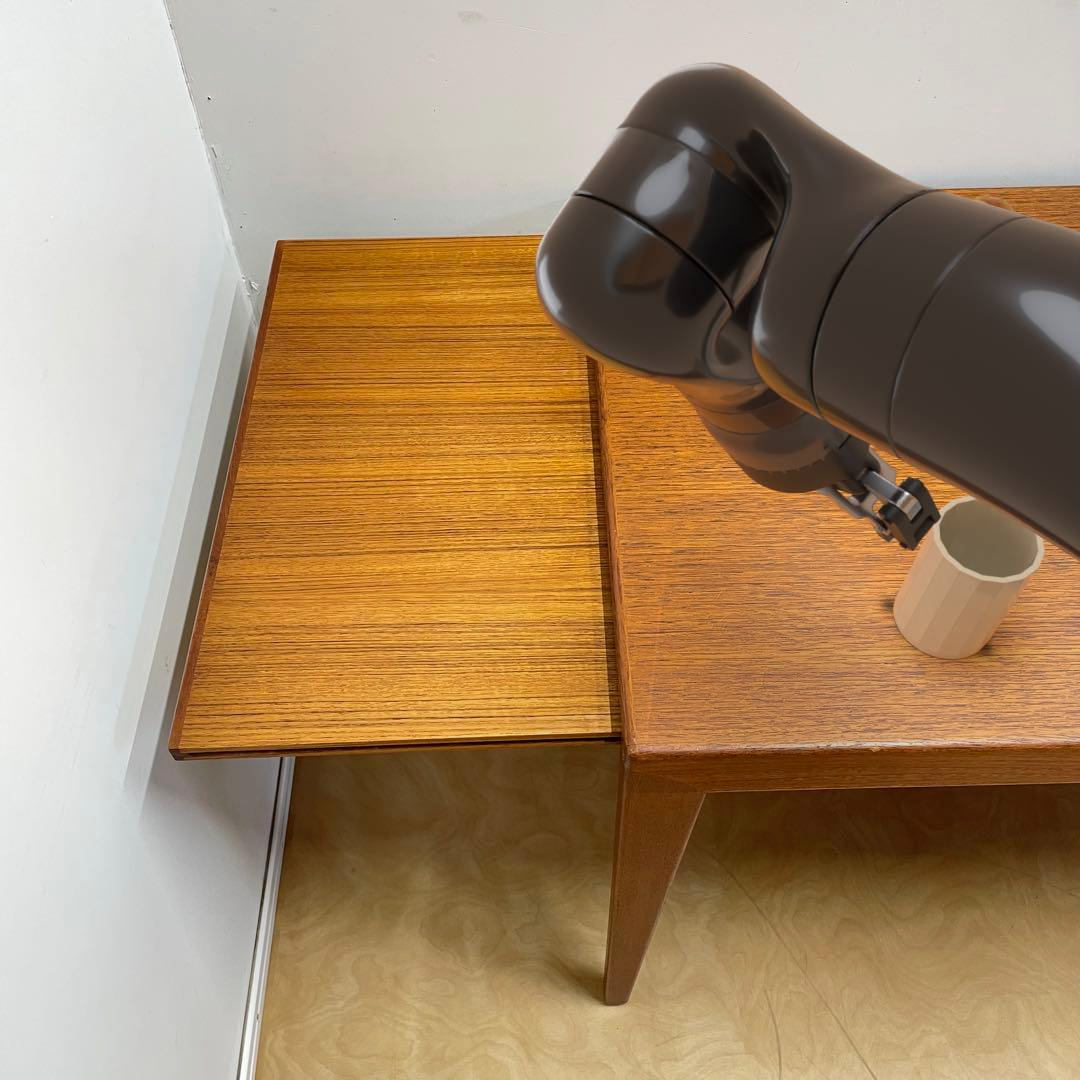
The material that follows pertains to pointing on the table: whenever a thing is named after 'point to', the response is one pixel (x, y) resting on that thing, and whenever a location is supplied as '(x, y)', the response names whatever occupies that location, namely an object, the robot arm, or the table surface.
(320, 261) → the table surface
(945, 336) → the robot arm
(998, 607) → the cup
